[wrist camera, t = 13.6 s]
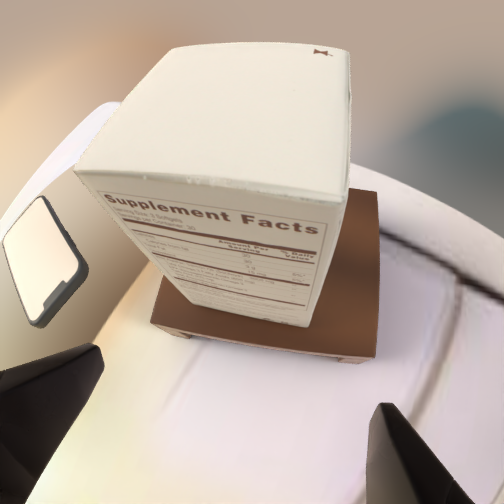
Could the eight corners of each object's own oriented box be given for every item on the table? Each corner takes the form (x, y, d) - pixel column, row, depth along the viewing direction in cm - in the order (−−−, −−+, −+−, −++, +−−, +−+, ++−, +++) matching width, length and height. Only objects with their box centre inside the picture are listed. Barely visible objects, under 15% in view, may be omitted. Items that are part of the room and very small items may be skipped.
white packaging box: (223, 208, 21) (171, 43, 10) (327, 225, 19) (356, 46, 8) (189, 306, 18) (62, 169, 7) (308, 333, 16) (357, 199, 5)
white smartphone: (7, 246, 28) (41, 336, 22) (-1, 240, 27) (30, 331, 20) (48, 198, 30) (96, 272, 24) (42, 190, 29) (86, 265, 23)
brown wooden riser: (359, 364, 19) (375, 357, 15) (171, 334, 21) (149, 322, 18) (366, 220, 24) (377, 191, 20) (208, 203, 26) (197, 174, 23)
